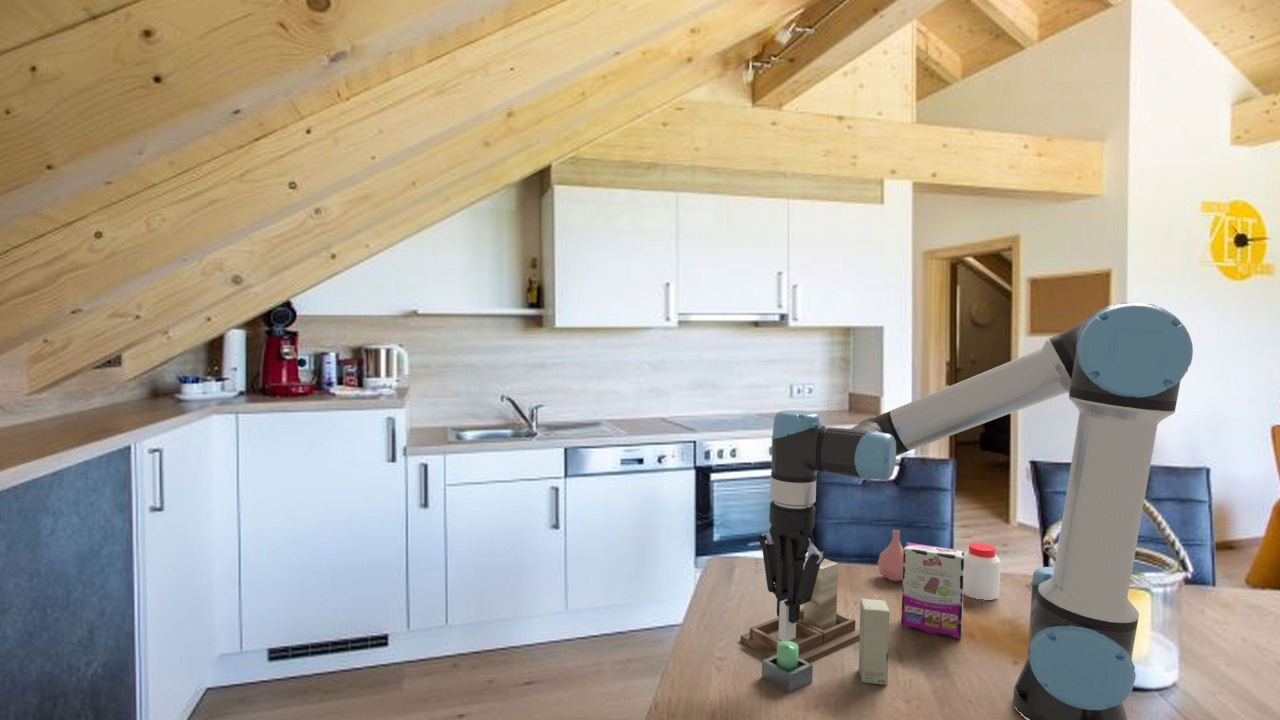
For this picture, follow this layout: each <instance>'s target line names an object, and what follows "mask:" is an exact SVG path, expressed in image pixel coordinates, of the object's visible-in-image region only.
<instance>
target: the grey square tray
mask: <svg viewBox="0 0 1280 720" xmlns="http://www.w3.org/2000/svg"><path fill="white" fill-rule="evenodd" d="M813 669H814V668H813V664H811V662H809V663H808V662H806V661H804V660H802V659H800V658H799V657H798V668H797V669H795V670H792V671H790V672H788V671H786V670H784V669H782V668H780V667H779V666H777V654H776V655H774V656H772V657H769V656H768V658H765V659H763V660H761V678H762V679H763V680H766V681H767V682H769V683H770V684H772V685H774V686H776V687H778V688H779V689H781V690H782V691H784V692H785V693H788V694H790V693H792V692H794V691H796V690H798V689H800V688H801V689H802V687H805V686H808V685H809V684H811V683H813Z"/></svg>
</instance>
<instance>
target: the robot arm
mask: <svg viewBox="0 0 1280 720" xmlns="http://www.w3.org/2000/svg"><path fill="white" fill-rule="evenodd" d="M1193 346H1194V345H1193V341H1192V338H1191V336H1190V333H1189V331H1188V329H1187V328H1186V326H1185V325H1184V323H1183V322H1182V321H1181V320H1180V319H1179V318H1178V317H1177V316H1176V315H1175V314H1174V313H1172V312H1170V311H1168V310H1167V309H1166V308H1162V307H1161V306H1158V305H1156V304H1151V303H1144V302H1140V301H1135V302H1125V301H1124V302H1119V303H1114V304H1112V305H1109V306H1105V307H1104V308H1102V309H1100V310H1097V311H1096V312H1094V313H1092V314H1091V315H1089V316H1088V317H1087V318H1086V319H1084V320H1082V321H1081V322H1079V323H1077V324H1075V325H1074V326H1073V327H1070V328H1069V329H1067V330H1065V331H1063V332H1061V333H1058V334H1056V335H1054V336H1052V337H1049V338H1047V339H1046V340H1045V342H1044V344H1043V346H1042V348H1039V349H1037V350H1034V351H1033V352H1030V353H1027V354H1025V355H1022V356H1020V357H1017V358H1015V359H1013V360H1011V361H1007V362H1005V363H1003V364H1001V365H998V366H996V367H993V368H991V369H988V370H986V371H984V372H982V373H979V374H976V375H974V376H971V377H970V378H969V377H968V378H966V379H964V380H961V381H959V382H957V383H954V384H952V385H949V386H947V387H944V388H942V389H939V390H937V391H935V392H932V393H930V394H927V395H925V396H923V397H921V398H918V399H915V400H912V401H911V402H908V403H906V404H903V405H901V406H898V407H896V408H893V409H891V410H890V411H887V412H884V413H881V414H879V415H877V416H874V417H869V418H867V419H864V420H862V421H860V422H859V423H858V424H857V425H855V426H853V427H851V428H844V427H843V428H842V427H830V426H825V425H821V421H820V416H819V414H817V413H816V412H814V411H807V410H796V409H795V410H794V409H788V410H785V409H784V410H781V411H778V412H777V413H776V414H775V416H774V419H773V426H772V427H773V429H772V436H771V444H772V445H771V472H770V486H769V487H770V488H769V490H770V491H769V499H770V500H771V502H770V503H769V512H768V513H769V517H768V521H769V523H770V527H769V531H768V532H763V533H760V534H759V535H758V536H757V537H758V538H757V539H758V541H759V543H760V546H761V548H762V557H763V564H764V570H765V571H764V572H765V579H766V584H767V591H768V592H769V593H773V594H774V595H775V598H776V616H777V618H778V617H779V636H778V638H779V639H780V640H782V641H784V642H786V641H789V640H791V639H793V638H796V622H798V621H799V618H800V609H801V606H803V605H804V604H805V603H807V602H810V601H811V597H812V594H813V590H814V586H815V582H816V579H817V575H818V571H819V567H820V564H821V563H822V561H823V560H824V559H826V556H827V554H826V552H825V551H824V550H821V551H820V550H819V549H818V548H817V547H816V546H815V539H814V537H813V529H814V528H815V525H816V523H815V522H816V506H815V505H814V504H815V503H816V500H817V499H816V497H817V477H818V472H820V473H827V474H834V475H838V476H839V475H841V476H846V477H852V478H860V479H864V480H868V481H870V480H879V481H888V480H889V479H891V478H892V476H893V474H894V470H895V467H896V460H897V457H898V456H900V455H903V454H906V453H907V452H910V451H912V450H915V449H917V448H921V447H924V446H926V445H928V444H932V443H934V442H937V441H940V440H942V439H945V438H948V437H950V436H952V435H956V434H958V433H961V432H964V431H967V430H970V429H972V428H975V427H977V426H980V425H983V424H985V423H988V422H990V421H994V420H996V419H999V418H1001V417H1004V416H1007V415H1010V414H1013V413H1014V412H1019V411H1020V410H1023V409H1027V408H1028V407H1031V406H1034V405H1038V404H1040V403H1043V402H1045V401H1048V400H1051V399H1054V398H1056V397H1058V396H1060V395H1065V394H1068V399H1069V400H1070V402H1072V404H1073V405H1074V406H1075V407H1076V409H1077V410H1078V412H1079V413H1078V421H1077V425H1076V432H1075V438H1074V445H1073V449H1072V450H1073V452H1072V456H1071V457H1072V458H1071V464H1070V468H1069V476H1068V481H1067V488H1066V494H1065V500H1064V506H1063V512H1062V513H1063V514H1062V519H1061V525H1060V532H1059V537H1058V541H1057V542H1058V544H1057V550H1056V554H1055V555H1056V556H1055V560H1054V562H1055V563H1054V566H1044V567H1039V568H1038V567H1037V569H1035V570H1034V571H1033V574H1032V580H1031V581H1030V586H1031V596H1030V597H1031V599H1030V612H1029V613H1030V616H1029V629H1028V630H1029V631H1028V633H1029V634H1028V648H1027V659H1026V661H1025V663H1024V666H1023V667H1022V670H1021V672H1020V673H1019V676H1018V678H1017V680H1016V682H1015V684H1014V687H1013V692H1012V693H1013V697H1012V703H1014V705H1013V706H1015V707H1016V708H1017V710H1018V711H1019V712H1021V713H1022V714H1023V715H1024V716H1025V717H1027V718H1029V719H1030V720H1128V715H1127V713H1126V709H1125V706H1124V702H1125V701H1126V700H1127V699H1128V697H1129V696H1130V695H1131V693H1132V691H1133V690H1134V689H1133V688H1134V684H1135V681H1136V677H1137V676H1136V674H1137V673H1136V671H1135V669H1136V667H1135V665H1134V662H1133V660H1132V659H1133V652H1134V645H1135V640H1136V635H1137V630H1138V629H1137V628H1138V623H1139V617H1140V614H1139V611H1138V610H1137V608H1136V607H1135V605H1134V604H1132V602H1131V601H1130V600H1129V597H1128V596H1129V591H1130V585H1131V580H1132V579H1131V578H1132V574H1133V567H1134V562H1135V561H1134V560H1135V556H1136V551H1137V545H1138V538H1139V534H1140V528H1141V521H1142V517H1143V511H1144V504H1145V498H1146V493H1147V487H1148V481H1149V476H1150V475H1149V474H1150V471H1151V470H1150V469H1151V466H1152V465H1151V464H1152V460H1153V459H1152V458H1153V453H1154V447H1155V443H1156V442H1155V441H1156V437H1157V436H1156V435H1157V429H1158V426H1159V424H1160V422H1162V421H1163V420H1165V419H1167V418H1168V417H1170V416H1172V415H1174V414H1175V412H1176V407H1177V403H1178V402H1177V401H1178V398H1179V390H1180V386H1181V381H1182V379H1183V378H1184V377H1185V375H1186V373H1188V371H1189V367H1190V366H1191V364H1192V362H1193V356H1194V355H1193V354H1194V352H1193V351H1194V349H1193ZM1015 707H1014V708H1015Z"/></svg>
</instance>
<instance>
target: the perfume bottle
mask: <svg viewBox="0 0 1280 720" xmlns="http://www.w3.org/2000/svg"><path fill="white" fill-rule="evenodd" d="M903 555H904V548H903V546H902V543H901V541H900V530H899V529H892V540H891V541H890V543H889V545H888V546H887V547H886V548H885V549H884V550H882V551H881V553H879V557H878V561H877V566H878V570H879V573H880V575H881V576H883V577H884V578H887V579H889V581H891V582H900V581H903Z"/></svg>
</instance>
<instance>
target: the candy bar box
mask: <svg viewBox="0 0 1280 720" xmlns="http://www.w3.org/2000/svg"><path fill="white" fill-rule="evenodd" d="M903 550H904V555H903V580H902V588H901V589H902V591H901V593H902V595H901V597H902V598H901V617H900V618H901V619H900V621H901V622H900V624H901V625H900V627H902V628H905V629H910V630H915V631H920V632H924V633H928V634H934V635H938V636H942V637H948V638H953V639H957V640H958V639H959V640H961V639H962V632H963V619H964V618H963V615H964V613H963V612H964V611H963V610H964V594H963V593H964V560H965V552H966V551H965V550H960V549H953V548H946V547H940V546H933V545H926V544H918V543H913V542H906V544H905V546H904V548H903Z"/></svg>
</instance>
